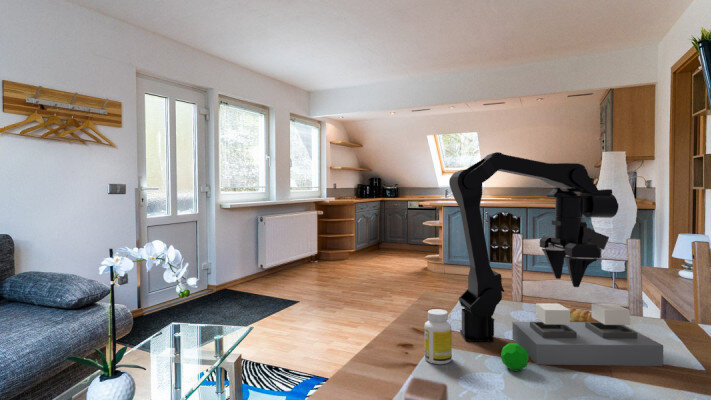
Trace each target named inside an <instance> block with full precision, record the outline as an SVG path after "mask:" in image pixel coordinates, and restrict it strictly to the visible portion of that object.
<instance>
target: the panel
mask: <svg viewBox="0 0 711 400" xmlns="http://www.w3.org/2000/svg"><path fill="white" fill-rule="evenodd" d="M511 326H512V340H513V341H514V343H517V344H519V345H520V346H521V347H523V348H524V349H525V350H527V353H528V355H529V358H530V359H531V360H532V361H533V362H534V363H535V365H537V364H540V365H543V366H544V365H545V366H546V365H549V366H555V365H556V366H560V365H561V366H625V367H626V366H627V367H628V366H630V367H631V366H633V367H634V366H636V367H638V366H639V367H641V366H643V367H649V366H651V367H664V345H663V344H661V343H659V342H658V341H655V340H654V339H652V338H650V337H648V336H646V335H644V334H642V333H640V332H638V331H636V330H634V329H633V328H630V327H629V326H628V325H604V324H603V323H601V322H570V325H560V324H544V323H543V322H541V321H512V325H511Z"/></svg>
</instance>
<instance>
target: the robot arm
mask: <svg viewBox="0 0 711 400" xmlns="http://www.w3.org/2000/svg"><path fill="white" fill-rule="evenodd" d="M497 172H502V173H507V174H512V175H517V176H522V177H527V178H531V179H538V180H540V181H542V182H544V183H546V184H548V185H550V186H553V189H552V190H551V191H549V192H548V193H547V194H546V198H555V203H554V205H555V209H554V210H555V211H554V219H553V220H551V225H553V226H554V236H542V237H541V238H539V247H540V248H541V251H542V252H543V254H544V256H545V258H546V260H547V263H548V264H549V267H550V269H551V271H552V273H553V275H554V278H555V279H558V280H560V279H562V275H563V268H564V263H565V262H566V266H567V271H568V273H569V277H570V280H571V284H572V286H573V288H579V287H580V285H581V282H582V280H583V278H584V276H585V273H586V270H587V268H588V266H590V264H592V263H594V262H597V261H598V259H602V250H605V248H606V246H607V244H608V241H609V240H610V236H607V235H605V234H602V233H599V232H598V231H595V229H593V228H590V227H588V223H587V222H586V221H583V216H584V217H585V218H599V219H601V218H606V219H607V218H609V219H610V218H611V219H612V218H614V217H615V216H616V215H617V213H618V211H619V203H618V200H617V197H616V195H614V194H613V189H612V188H611V189H608V188H607V189H606V188H605V189H604V188H603V189H598V187H597V186H596V184H595V183H594V181H593V180H592V179H591V177H590V175H589V173H588V170H587V167H586V166H585V165H584V164H582V163H576V162H575V163H570V162H569V163H567V162H562V163H561V162H560V163H558V162H557V163H552V162H551V163H550V162H549V163H548V162H543V161H539V160H534V159H528V158H525V157H524V158H523V157H519V156H515V155H509V154H504V153H503V152H500V151H499V152H497V151H496V152H492V153H489V154H487V155H486V156H485V157H483V158H482V159H481V160H479V161H477V162H476V163H474V164H472V165H471V166H468V167H467V168H465V169H460V170H457V171H455V172H454V173H452V175H451V176H450V178H449V180H448V182H449V188H450V191H451V193H452V195H453V198H454V200H455V202H456V204H457V206H458V207H459V210H460V214H461V222H462V227H463V231H464V239H465V244H466V250H467V256H468V262H469V272H468V277H467V289H466V290H465V291H464V292H463V293H462V294H461V295H460V296H459V297H458V301H459V304H460V306H461V307H462V308H461V329H460V330H459V333H460V335H461V336H462V337H463V339H464V341H465V342H494V341H495V338H494V336H495V319H494V318H493V316H494V313H495V312H496V311H495V310H496V308H497V306H498V305H499V304H500V302H501V301H502V300H503V299H502V298H503V293H505V289H504V288H503V281H502V280H503V279H502V274H501V273H499V272H497V271H495V270H493V269H492V267H491V263H490V258H489V253H488V252H489V251H488V247H487V241H486V235H485V230H484V224H483V218H482V211H481V201H482V199H483V198H482V196H483V183H484V182H486V181H487V180H489V179H490V178H492V176H493V175H495V174H496V173H497ZM562 189H565V190H562ZM578 194H580V195H578ZM564 261H565V262H564Z"/></svg>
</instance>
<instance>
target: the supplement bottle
mask: <svg viewBox="0 0 711 400" xmlns="http://www.w3.org/2000/svg"><path fill="white" fill-rule="evenodd" d="M427 319H428V320H427V321H425V323H424V327H423V328H424V359H425V360H426V362H429V363H431V364H435V365H445V364H449V363H450V362H451V361H452V357H453V355H452V354H453V353H452V351H453V350H452V346H453V343H452V335H453V334H452V325H451V323H450V322H449V321H448V319H449V313H448V311H447V310H445V309H439V308H435V309H433V308H432V309H429V310H428V311H427Z"/></svg>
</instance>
